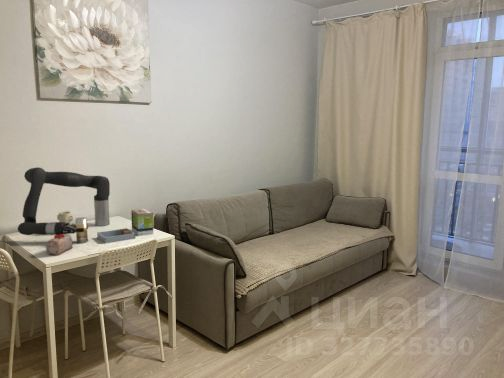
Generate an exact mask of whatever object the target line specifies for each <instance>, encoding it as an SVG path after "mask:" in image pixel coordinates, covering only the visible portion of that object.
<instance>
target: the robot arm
mask: <svg viewBox="0 0 504 378" xmlns="http://www.w3.org/2000/svg"><path fill="white" fill-rule="evenodd" d="M24 179H25V181H26V182H28V183H30V189H29V192H28V194H27V196H26V198H25V201H24V205H23V208H22V217H23V219H24V222H21V223H19V224H18V226H17V231H18V233H19V234H21V235H24V236H32V235H42V236H45V235H46V236H55V234H56V235H60V234H62V235H63V234H68V235H70V234H71V235H72V234H73V235H74V234H76V233H77V232H84V228H76V223H70V225H68V226H67V225H66V223H65V222H59V221H55V222H54V221H53V222H50V221H49V222H37V211H38V205H39V201H40V197H41V193H42V190H43V187H44V184H49V185H56V186H61V187H67V188H68V187H69V188H79V187H86V188H91V189H95V190H96V193H95V195H94V196H93V205H94V223H95V226H96V227H104V226H105V227H106V226H108V225H110V204H109V203H110V201H109V197H110V193H111V192H110V188H111V185H110V180H109V178H108V177H106V176H102V175H84V174H80V173H78V172H70V171H45V169H44V168H42V167H32V168H29V169H28V170H26V171H25V172H24ZM88 229H89V226H88V224H87V230H88Z"/></svg>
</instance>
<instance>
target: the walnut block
mask: <svg viewBox="0 0 504 378" xmlns="http://www.w3.org/2000/svg"><path fill="white" fill-rule="evenodd" d="M121 229H122V230H121V235H125V234H131V231H132V230H130V229H129V228H127V229H125V228H121Z"/></svg>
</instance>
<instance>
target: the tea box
mask: <svg viewBox="0 0 504 378" xmlns="http://www.w3.org/2000/svg"><path fill="white" fill-rule="evenodd" d="M130 213H131V214H130V215H131V231H132V232H134V233H135V236H136V235H137V237H143V236H151V235H154V212H153V211H151V210H149V209H148V208H138V209H137V208H134V209H131V212H130Z"/></svg>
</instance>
